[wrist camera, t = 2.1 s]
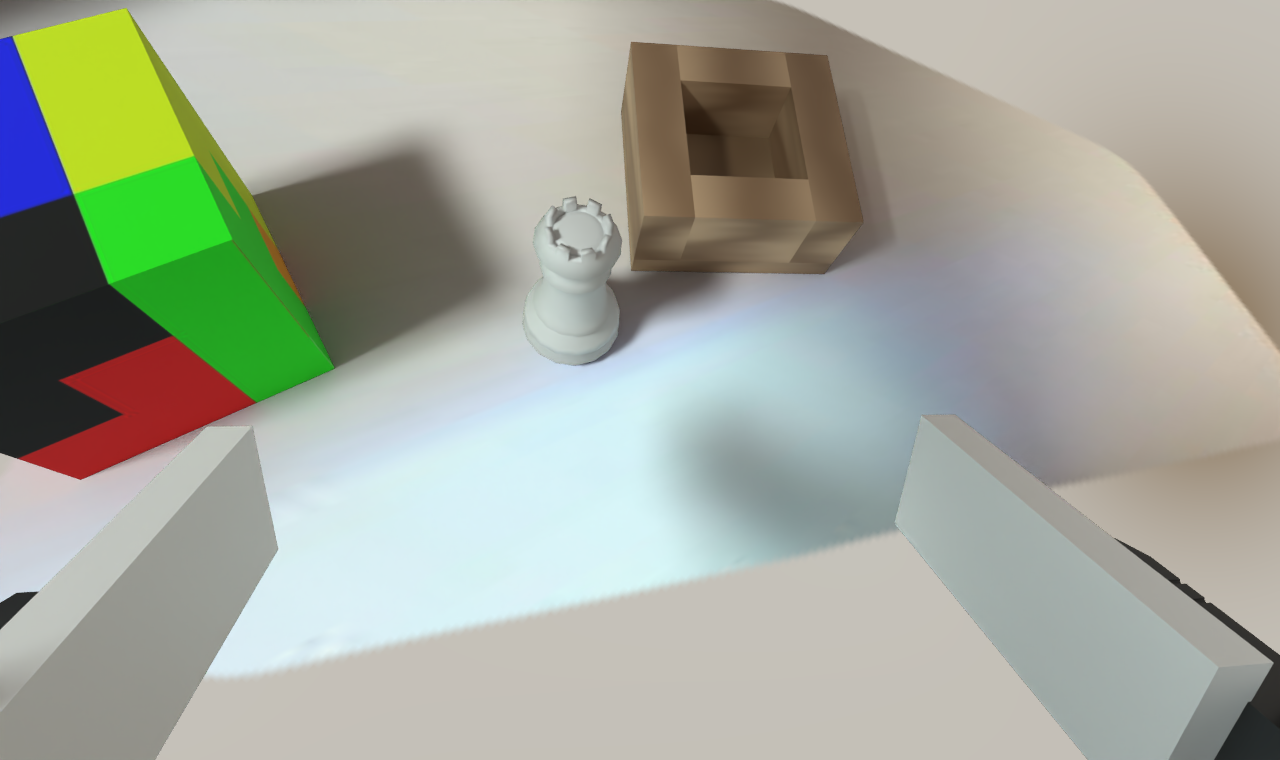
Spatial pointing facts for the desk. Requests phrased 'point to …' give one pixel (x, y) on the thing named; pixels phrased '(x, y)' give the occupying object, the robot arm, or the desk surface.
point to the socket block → (734, 161)
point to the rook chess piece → (574, 284)
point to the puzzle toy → (127, 258)
